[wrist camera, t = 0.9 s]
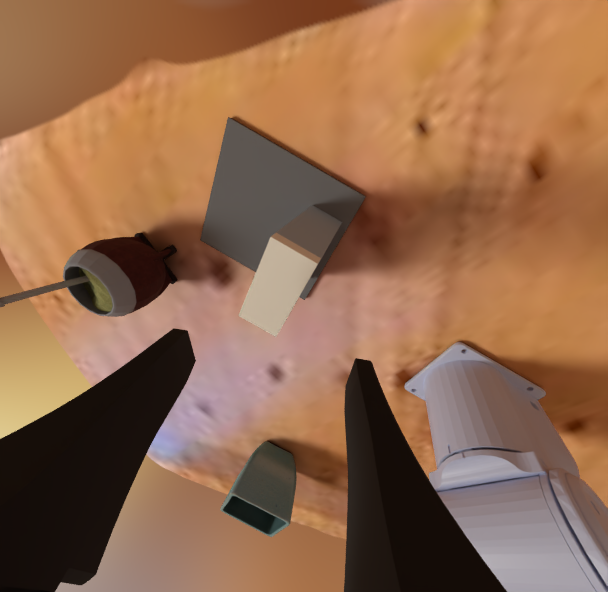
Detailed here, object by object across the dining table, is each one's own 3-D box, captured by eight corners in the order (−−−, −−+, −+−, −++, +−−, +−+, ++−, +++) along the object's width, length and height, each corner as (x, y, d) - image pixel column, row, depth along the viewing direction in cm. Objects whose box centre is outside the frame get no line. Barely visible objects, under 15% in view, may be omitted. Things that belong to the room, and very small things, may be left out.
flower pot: (290, 474, 45) (271, 539, 37) (246, 451, 45) (218, 511, 37) (308, 454, 40) (290, 524, 32) (259, 428, 40) (230, 492, 33)
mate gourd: (197, 274, 28) (45, 375, 15) (156, 295, 31) (5, 392, 19) (152, 211, 25) (-73, 271, 13) (113, 242, 29) (-94, 312, 16)
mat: (365, 196, 19) (365, 197, 19) (305, 298, 25) (304, 300, 25) (230, 117, 19) (228, 117, 19) (202, 239, 25) (200, 240, 25)
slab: (342, 222, 20) (317, 263, 13) (310, 278, 24) (276, 337, 16) (312, 205, 20) (270, 236, 13) (284, 263, 24) (238, 315, 16)
